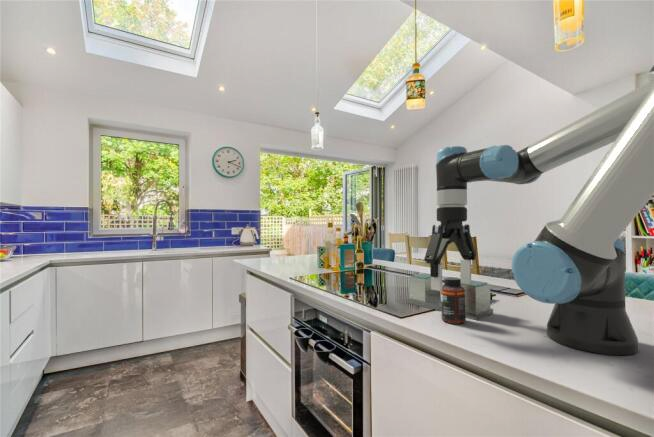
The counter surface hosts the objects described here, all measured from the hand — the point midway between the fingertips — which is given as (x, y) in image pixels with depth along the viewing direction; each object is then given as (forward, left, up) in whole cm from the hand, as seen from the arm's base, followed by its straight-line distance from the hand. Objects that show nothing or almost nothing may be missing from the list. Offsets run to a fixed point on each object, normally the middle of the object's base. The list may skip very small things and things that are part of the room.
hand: (451, 287), depth 83 cm
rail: (+8, -10, -9) cm, 16 cm away
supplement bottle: (0, 0, -9) cm, 9 cm away
